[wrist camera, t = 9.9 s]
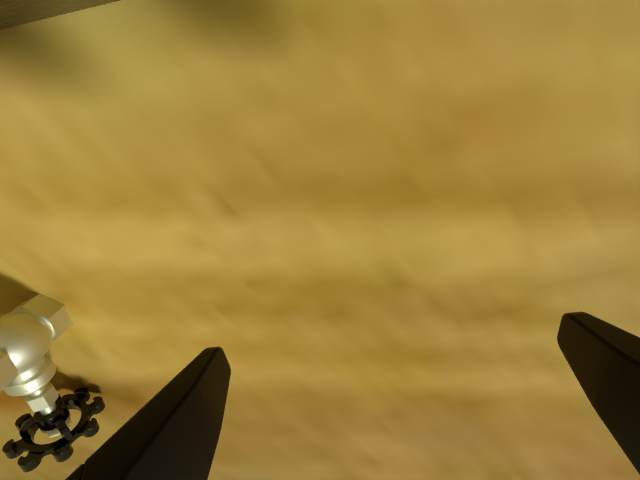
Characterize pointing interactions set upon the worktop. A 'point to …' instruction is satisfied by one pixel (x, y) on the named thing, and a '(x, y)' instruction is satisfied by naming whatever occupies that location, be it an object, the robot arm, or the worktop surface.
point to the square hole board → (40, 9)
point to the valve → (40, 382)
